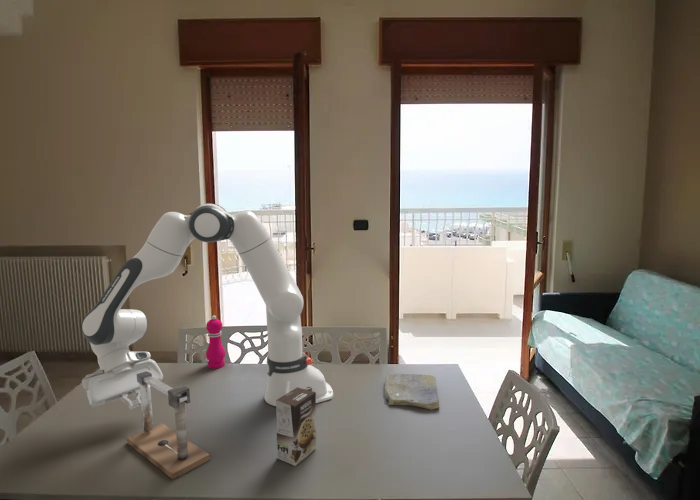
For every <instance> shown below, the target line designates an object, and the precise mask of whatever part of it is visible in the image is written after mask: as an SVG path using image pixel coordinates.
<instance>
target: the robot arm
mask: <svg viewBox="0 0 700 500" xmlns="http://www.w3.org/2000/svg"><path fill="white" fill-rule="evenodd" d="M195 239H196V240H198V241H200V242H203V243H216V242H220V241H224V240H229V241H230V242H231V244H232V245H233V246H234V249H235V250H236V251H237V252H236V253H238V255H239V257H240V259H241V261H242V263H243V264H244V265H245V268H246V269H247V272H248V273H249V274H250V277H251V278H252V280H253V283H254V285H255V286H256V288H257V290H258V292H259V295H260V296H261V299H262V301H263V302H264V304H265V312H266V313H265V314H266V329H267V330H266V331H267V357H266V372H267V373H266V374H267V384H266V390H265V394H264V396H263V397H264V400H265V402H266V403H267V404H269V405H271V406H273V407H276V400H277V399H279V398H281V397H282V396H284V395H286V394H287V393H289V392H290V391H292V390H294V389H295V388H297V387H298V388H301V389H306V390H310V391H313V392H316V404H319V403H322V402H325V401H329V400H332V399H333V398H334V390H333V388H332V386H331V385H330V383H328V382H326V379H325V376H324V375H323V373H322V372H321V370H320V369H318V368H316V367H315V366H313V365H312V364H313V362H314V360H313V359H312V358H311V357H309V356H308V354H306V353H305V352H304V351H303V330H302V319H301V318H302V317H301V314H302V312H303V309H304V304H305V303H304V296H303V295H302V293H301V290H300V289H299V286H298V285H297V284H296V281H295V280H294V277H293V276H292V274H291V273H290V270H289V268H288V267H287V264H286V263H285V261H284V258H283V257H282V255H281V253H280V252H279V250H278V248H277V246H276V244H275V242H274V241H273V239H272V237H271V236H270V233H269V232H268V230H267V229H266V227H265V225H264V224H263V222H262V221H261V220H260V218H259V217H258V216H257V215H256V214H255V213H254V212H253V211H250V210H242V211H239V212H236V213H234V214H232V213H231V214H230V213H229V212H227V211H226V210H225V208H223V206H221V205H219V204H218V203H217V204H216V203H204V204H201V205H199V206H197V207H196V208H195V209H194V210H193V211H192V212H191V213H189V214H188V215H186V214H183V213H180V212H178V211H168V212H166V213H164V214H162V216H161V217H160V218H159V219H158V220H157V222H156V223H155V225H154V227H153V228H152V229H151V231H150V233H149V235H148V237H147V239H146V241H145V242H144V245H143V246H142V247H141V249H140V250H139V251H138V252H137V253H136V254H135V255H134V256H133V257H132V258H130V259H129V260H127V261H125V263H124V264H123V265H122V266H121V267H120V269H119V270H118V272H117V273H116V274H115V276H114V277H113V279H112V281H111V282H110V284H108V286H107V288H106V289H105V291H104V293H102V295H101V297H100V298H99V299H98V301H97V302H96V304H95V305H94V306H93V307H92V308H91V309H90V310H89V311H88V312H87V313H86V315H85V316H84V318H83V320H82V322H81V333H82V334H83V337H84V338H85V339H86V340H87V341H88V342H89V344H90V347H91V349H92V351H93V353H94V354H95V355H96V356H97V363H98V366H99V368H100V370H99V371H96V372H93V373H89V374H86V375H85V377H83V378H82V380H81V385H82V387H83V390H85V391H86V395H87V400H88V404H89V406H91V407H94V408H96V407H98V406H102V405H104V404H107V403H110V402H113V401H115V400H119V399H120V400H121V401H120V402H122V403H124V404H125V405H126V406H127V407H128V409H129V410H134V409H136V408H139V407H141V396H140V384H139V383H138V382H137V374H139V373H142V372H145V371H148V372H150V373H151V374H152V377H154V378H156V379H157V380H159V381H161V382H163V381H162V380H163V379H164V374H163V372H162V370H161V369H160V366H159V365H158V363H157V362H156V361H155V360H154V359H151V356H152V355H151V353H150V352H149V351H131V350H130V348H129V346H130V345H133V344H135V343H137V342H138V341H140V340H141V339H142V338H143V337H144V336H145V335H146V333H147V332H148V330H149V329H148V328H149V320H148V318H147V315H146V313H144V312H143V311H142V310H139V309H130V308H129V309H128V308H127V309H126V308H124V309H121V308H122V307H123V305H124V304H125V303H126V301H127V300H128V298H129V296H130V294H131V293H132V292H133V291H134V290H135V289H136V288H137V287H139V286H140V285H141V284H144V283H146V282H147V283H148V282H149V281H151V280H156V279H161V278H164V277H167V276H169V275H172V273H174V272H175V271H176V269H177V268H178V266H179V264H180V263H181V261H182V258H183V257H184V254H185V253H186V251H187V249H188V247H189V245H190V243H192V241H194V240H195ZM150 388H153V387H152V386H150ZM132 394H133V396H134V397H135V399H134V400H131V399H130V398H129V397H128V396H130V395H132Z"/></svg>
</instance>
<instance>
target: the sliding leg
mask: <svg viewBox="0 0 700 500" xmlns="http://www.w3.org/2000/svg"><path fill="white" fill-rule="evenodd" d="M137 382H138V383H139V384H140V401H141V406H140V407H141V409H140V410H141V421H142V431H144V432H150V431H151V430H153V427H154V418H153V416H154V415H153V406H152V405H153V404H152V403H153V402H152V393H151V388H154V389H155V390H156V391H159V392H160V393H162V394H164V395H165V396H167V397H168V390H170V389H173V388H174V387H172V386H170V385H168V384H166V383H164V382H163V381H159V380H157V379H156V378H154V377H152V374H151V373H150V372H148V371H145V372H142V373H139V374H137ZM150 386H152V387H150ZM186 400H187V396H186V395H184V394H183V393H182V394H179V395H177V402H179V403H181V402H183V401H186Z"/></svg>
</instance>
